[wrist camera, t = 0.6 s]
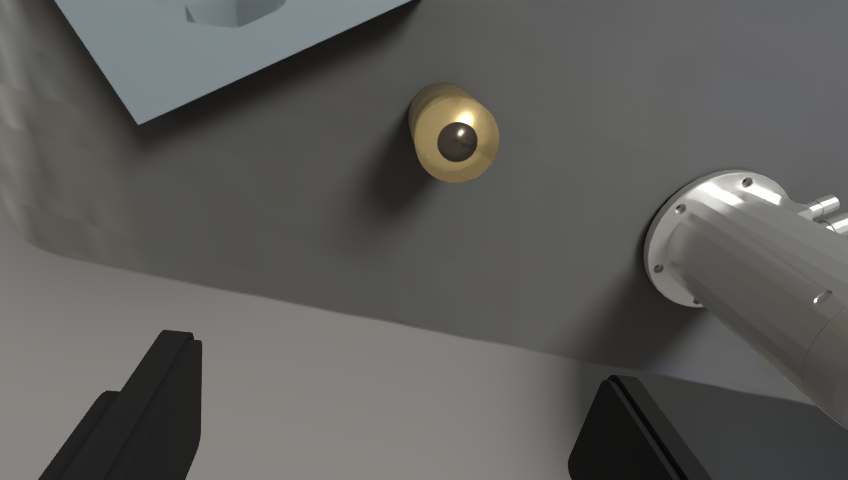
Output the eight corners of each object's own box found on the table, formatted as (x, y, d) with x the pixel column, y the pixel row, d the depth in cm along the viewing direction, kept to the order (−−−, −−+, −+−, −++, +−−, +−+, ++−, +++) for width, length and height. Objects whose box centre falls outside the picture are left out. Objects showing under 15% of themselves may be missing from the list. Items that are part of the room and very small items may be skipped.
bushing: (461, 71, 35) (483, 84, 27) (484, 135, 37) (510, 163, 29) (397, 99, 35) (401, 119, 28) (423, 161, 37) (434, 195, 30)
